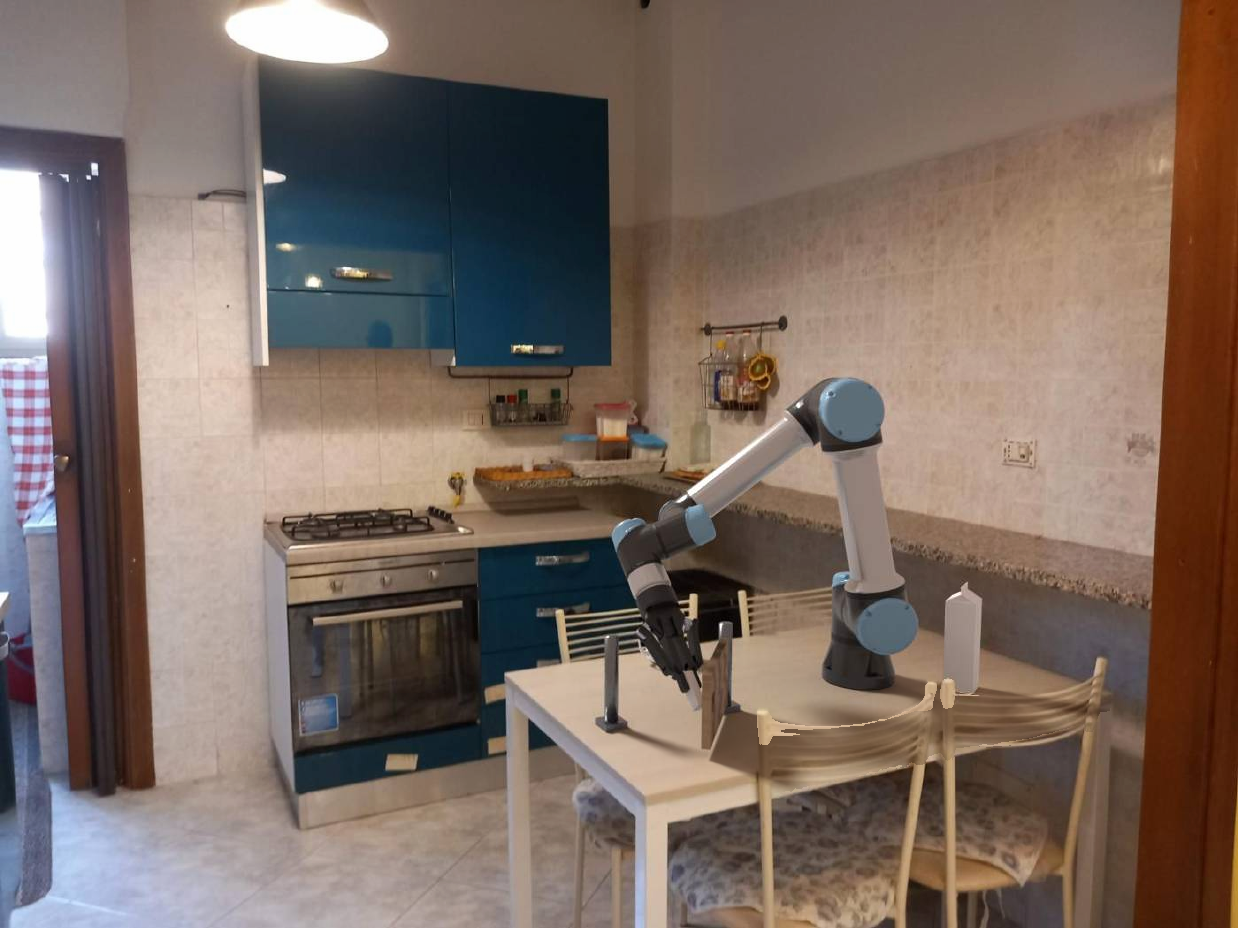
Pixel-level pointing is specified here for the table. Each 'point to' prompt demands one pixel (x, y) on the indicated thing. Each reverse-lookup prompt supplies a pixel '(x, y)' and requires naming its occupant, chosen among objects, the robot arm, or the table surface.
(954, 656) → the milk
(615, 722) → the gate frame
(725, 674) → the gate
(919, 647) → the table surface
